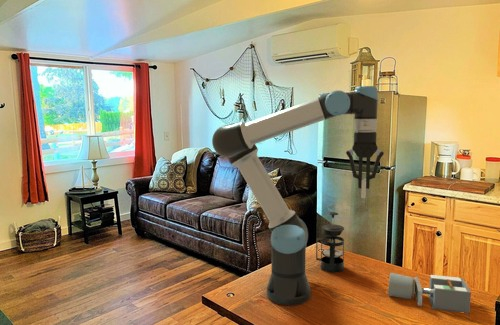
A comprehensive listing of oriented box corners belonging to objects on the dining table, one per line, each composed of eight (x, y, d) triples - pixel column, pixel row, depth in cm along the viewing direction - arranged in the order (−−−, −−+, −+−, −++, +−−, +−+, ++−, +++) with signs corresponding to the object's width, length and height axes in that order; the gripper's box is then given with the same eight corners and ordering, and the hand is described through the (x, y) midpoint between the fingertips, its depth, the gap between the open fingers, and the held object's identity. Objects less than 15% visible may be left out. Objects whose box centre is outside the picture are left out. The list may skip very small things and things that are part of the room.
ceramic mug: (414, 304, 123) (415, 281, 122) (387, 299, 126) (388, 277, 125) (414, 290, 133) (415, 269, 132) (390, 286, 136) (390, 266, 135)
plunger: (417, 305, 120) (418, 283, 119) (413, 289, 131) (414, 269, 130) (461, 310, 117) (462, 288, 116) (453, 294, 127) (455, 273, 126)
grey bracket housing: (432, 309, 120) (433, 287, 119) (427, 294, 129) (428, 274, 128) (469, 313, 116) (471, 291, 116) (461, 298, 126) (463, 277, 125)
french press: (345, 264, 155) (346, 210, 152) (345, 273, 146) (346, 216, 143) (317, 261, 158) (317, 208, 155) (315, 271, 149) (315, 215, 146)
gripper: (345, 131, 129) (344, 198, 132) (385, 131, 125) (383, 200, 129) (346, 130, 136) (345, 194, 140) (384, 130, 132) (382, 196, 136)
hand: (363, 197), depth 134 cm, fingers closed
